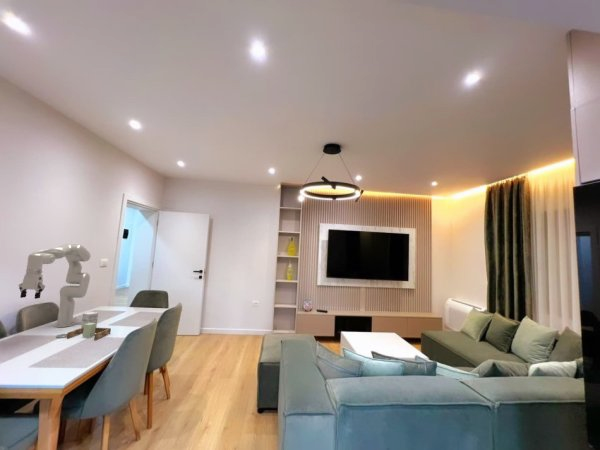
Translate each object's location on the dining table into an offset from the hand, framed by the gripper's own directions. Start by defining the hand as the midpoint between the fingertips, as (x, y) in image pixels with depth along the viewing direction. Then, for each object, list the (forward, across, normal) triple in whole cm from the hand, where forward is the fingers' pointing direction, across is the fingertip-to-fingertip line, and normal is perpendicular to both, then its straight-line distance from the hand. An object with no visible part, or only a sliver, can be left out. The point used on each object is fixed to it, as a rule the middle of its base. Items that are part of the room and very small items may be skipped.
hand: (30, 297), depth 185 cm
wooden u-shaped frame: (+29, -28, -19) cm, 45 cm away
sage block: (+29, -28, -19) cm, 45 cm away
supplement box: (+30, -16, -35) cm, 48 cm away
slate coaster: (+29, -12, -16) cm, 36 cm away
